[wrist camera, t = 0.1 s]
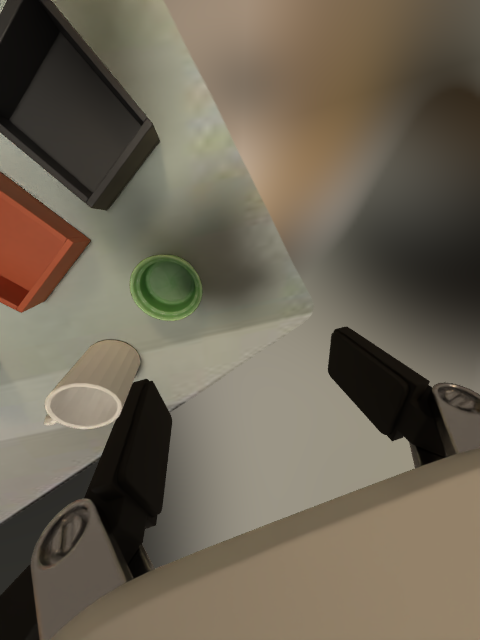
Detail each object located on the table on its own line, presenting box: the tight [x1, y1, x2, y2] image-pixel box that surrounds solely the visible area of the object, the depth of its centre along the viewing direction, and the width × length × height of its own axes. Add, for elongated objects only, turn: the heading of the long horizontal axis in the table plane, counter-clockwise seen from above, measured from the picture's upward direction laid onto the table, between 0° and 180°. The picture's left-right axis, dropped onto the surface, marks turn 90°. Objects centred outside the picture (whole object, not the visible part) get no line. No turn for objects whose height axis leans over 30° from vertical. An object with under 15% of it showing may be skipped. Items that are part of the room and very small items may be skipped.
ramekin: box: [130, 255, 203, 321], centre depth 26 cm, size 9×9×4 cm
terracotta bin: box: [0, 172, 91, 313], centre depth 20 cm, size 11×11×4 cm
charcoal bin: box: [0, 0, 160, 210], centre depth 18 cm, size 10×10×4 cm
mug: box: [44, 340, 140, 429], centre depth 28 cm, size 8×12×10 cm
